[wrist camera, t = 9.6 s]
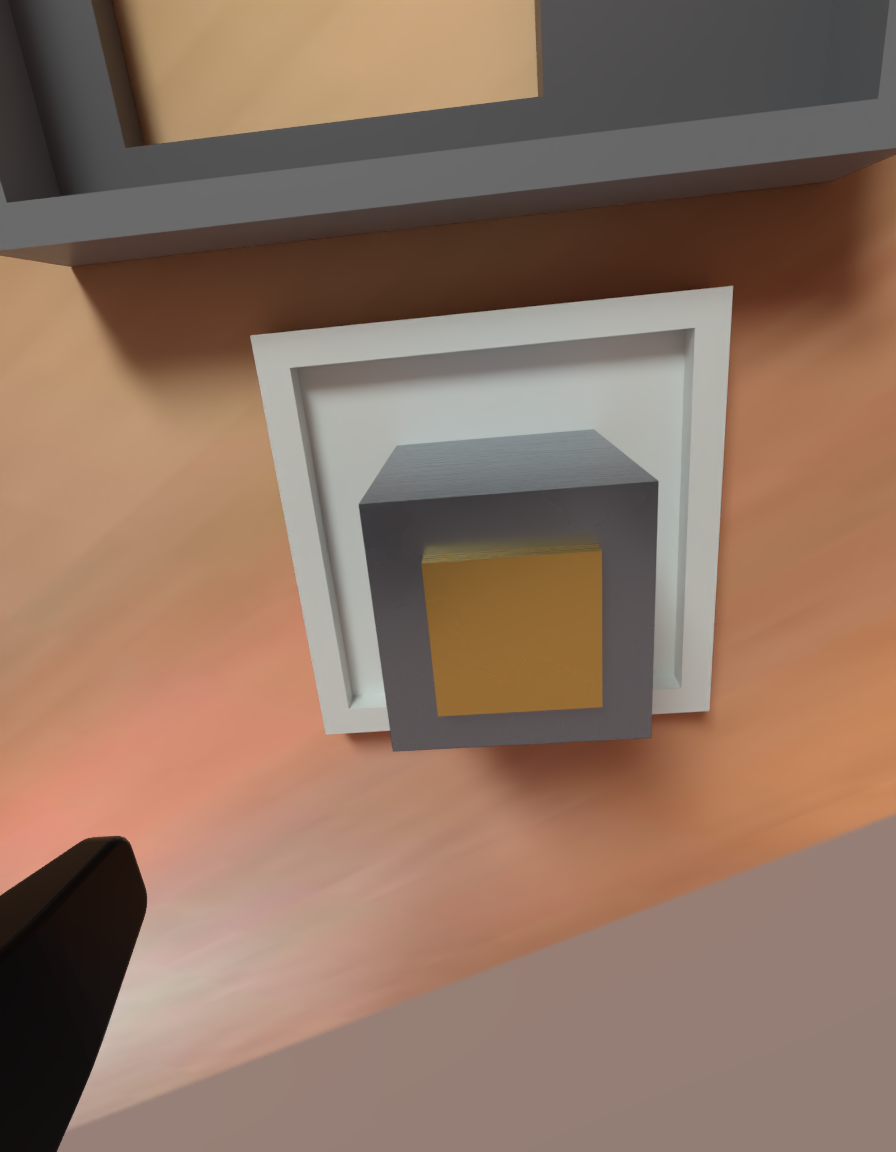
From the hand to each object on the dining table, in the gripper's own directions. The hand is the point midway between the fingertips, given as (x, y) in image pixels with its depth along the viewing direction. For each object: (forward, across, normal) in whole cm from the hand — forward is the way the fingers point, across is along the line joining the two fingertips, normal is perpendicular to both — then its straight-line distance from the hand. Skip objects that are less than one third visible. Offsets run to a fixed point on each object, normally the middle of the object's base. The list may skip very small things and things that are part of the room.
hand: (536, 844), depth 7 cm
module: (+11, 0, 0) cm, 11 cm away
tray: (+12, 0, 0) cm, 12 cm away
